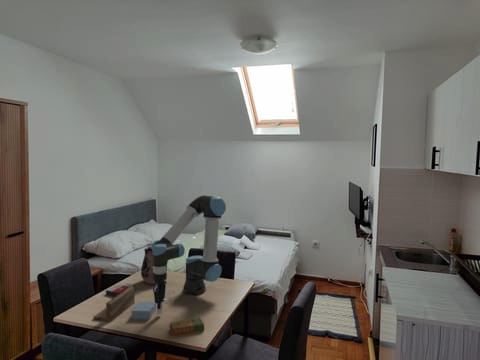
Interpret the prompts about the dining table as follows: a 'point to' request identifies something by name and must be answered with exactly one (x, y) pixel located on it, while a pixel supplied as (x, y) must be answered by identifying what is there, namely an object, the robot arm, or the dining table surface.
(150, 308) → the slate block
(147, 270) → the ceramic pitcher
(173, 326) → the carton
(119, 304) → the brown long angled block
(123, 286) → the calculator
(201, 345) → the dining table surface
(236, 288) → the dining table surface
